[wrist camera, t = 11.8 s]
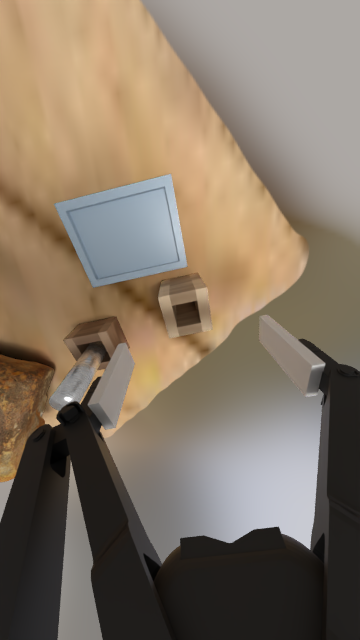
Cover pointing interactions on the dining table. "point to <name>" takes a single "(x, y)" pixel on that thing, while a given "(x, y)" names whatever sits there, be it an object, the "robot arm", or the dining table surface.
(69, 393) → the silver metal rod
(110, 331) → the brown hollow block
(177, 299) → the block
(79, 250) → the tray
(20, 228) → the dining table surface
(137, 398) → the dining table surface
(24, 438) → the rough brown rock
